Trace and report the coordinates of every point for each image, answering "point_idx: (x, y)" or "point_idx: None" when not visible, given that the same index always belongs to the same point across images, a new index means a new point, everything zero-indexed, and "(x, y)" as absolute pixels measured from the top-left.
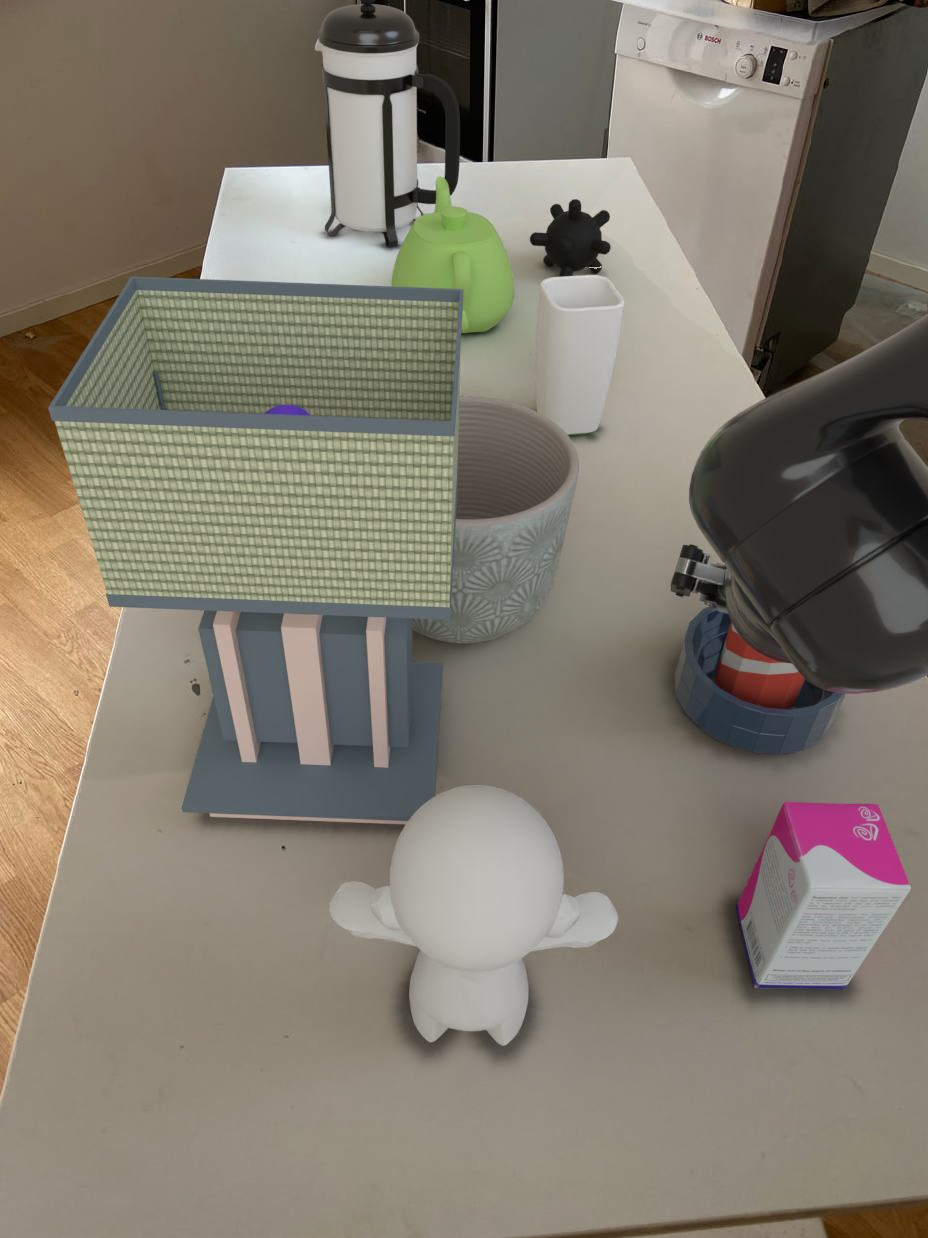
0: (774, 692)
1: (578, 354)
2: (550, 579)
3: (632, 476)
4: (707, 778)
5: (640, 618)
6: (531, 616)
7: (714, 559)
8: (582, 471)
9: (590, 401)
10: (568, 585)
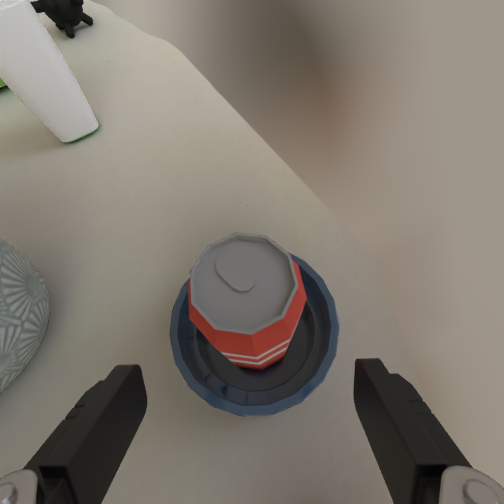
0: (273, 360)
1: (22, 67)
2: (9, 329)
3: (129, 154)
4: (241, 461)
5: (151, 284)
6: (31, 352)
7: (198, 202)
8: (93, 163)
9: (72, 107)
10: (89, 275)
